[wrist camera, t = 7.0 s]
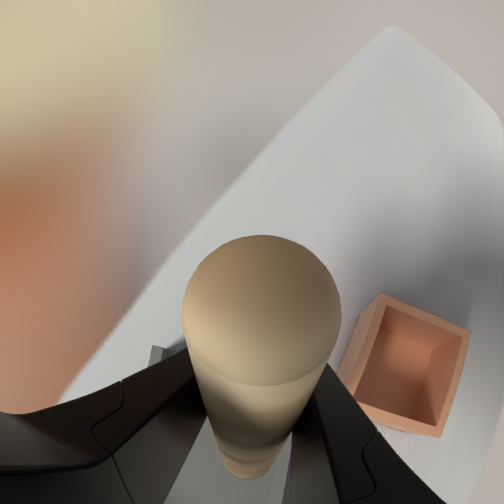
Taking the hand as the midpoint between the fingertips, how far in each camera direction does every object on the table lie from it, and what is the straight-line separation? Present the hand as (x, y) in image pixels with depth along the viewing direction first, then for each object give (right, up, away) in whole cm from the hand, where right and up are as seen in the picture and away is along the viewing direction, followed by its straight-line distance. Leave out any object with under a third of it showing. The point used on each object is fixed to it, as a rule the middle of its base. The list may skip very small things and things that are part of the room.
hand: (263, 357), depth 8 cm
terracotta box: (+9, -6, +12) cm, 16 cm away
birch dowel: (0, -5, +5) cm, 7 cm away
